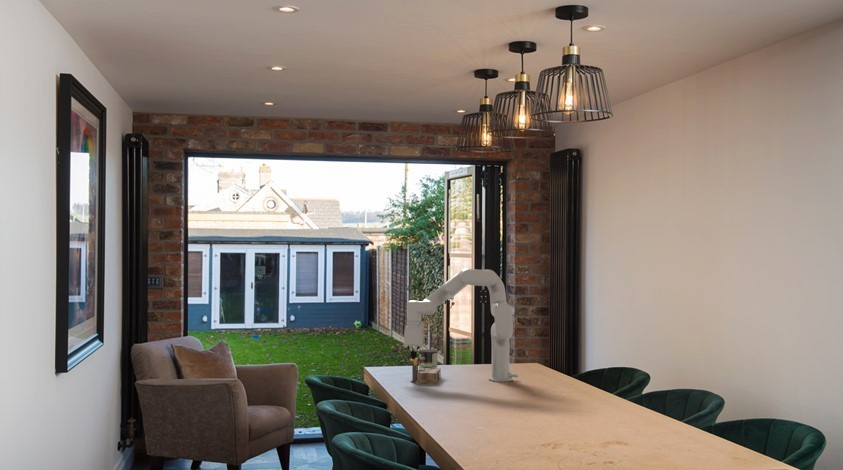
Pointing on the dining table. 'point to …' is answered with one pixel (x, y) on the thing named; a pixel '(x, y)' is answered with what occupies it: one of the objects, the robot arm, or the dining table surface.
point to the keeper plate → (414, 361)
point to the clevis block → (425, 375)
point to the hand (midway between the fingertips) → (413, 358)
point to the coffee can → (427, 358)
